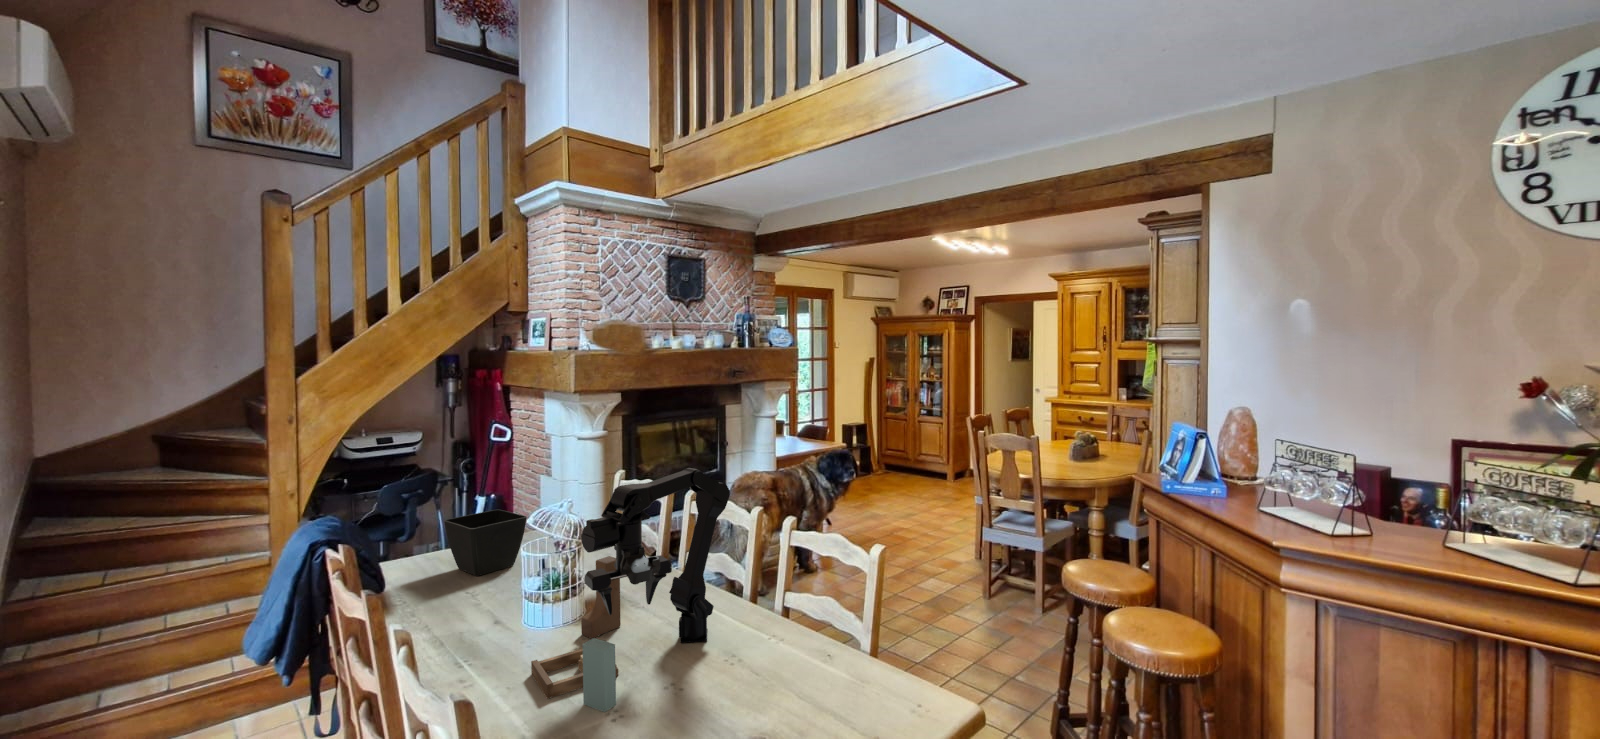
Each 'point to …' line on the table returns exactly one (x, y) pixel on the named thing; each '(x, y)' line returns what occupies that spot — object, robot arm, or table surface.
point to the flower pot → (485, 540)
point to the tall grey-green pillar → (599, 674)
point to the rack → (552, 664)
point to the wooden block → (603, 606)
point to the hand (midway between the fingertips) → (629, 609)
